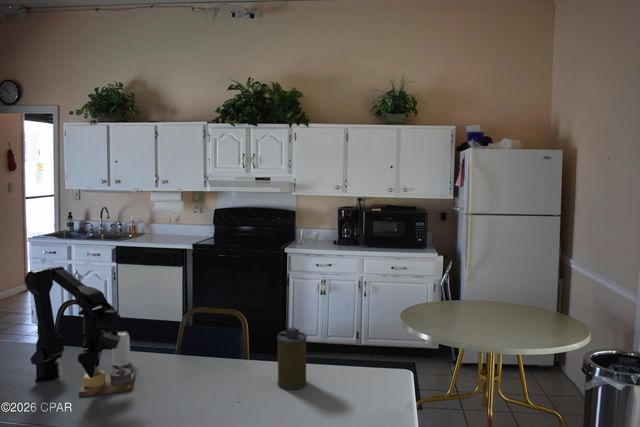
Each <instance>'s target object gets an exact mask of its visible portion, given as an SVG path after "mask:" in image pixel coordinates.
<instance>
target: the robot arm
mask: <svg viewBox="0 0 640 427" xmlns="http://www.w3.org/2000/svg"><path fill="white" fill-rule="evenodd" d="M24 282H25V285H26V289H27V290H28V292H29V293H31V295H32V296H33V298H34V299H33V300H34V307H35V314H36V319H37V324H38V327H37V328H38V332H39V336H38V338H37V341H36V343H35V352H34V353H33V355H31V357H30V362H31V365H34V366H35V373H36V378H35V379H34V382H42V381H43V382H45V381H46V382H47V381H54V380H56V378H57V377H58V376H59V375H60V373H61V371H60V362H59V361H58V359H60V358H62V356H63V353H64V350H65V346H66V345H65V342H64V341H65V340H64V336H63V335H59V334H58V333H57V330H56V324H55V318H54V313H53V307H52V301H51V290H52V288H53V285H54V282H55V283H56V284H57V285H58V286H60V287H61V288H63V289H64V290H65V291H67V292H68V293H69V294H70V295H72V296H73V297H74V300H75V304H77V305H78V306H79V308H80V309H81V310H80V311H79V312H78V315H79V316H82V317H83V320H82V322H83V332H82V338H83V345H82V350H81V351H80V352H79V354H78V355H77V363H79V364H80V365H81V367H83V369H84V371H85V373H87V374H88V376H89V377H90V378H93V376H94V370H95V367H97V368H98V367H99V366H100V361H101V357H102V352H103V351H104V349H105V348H106V347H108V348H111V349H112V348H113V349H116V348H117V346H118V343H119V340H120V335H119V336H118V332H119V330H120V329H121V326H122V325H123V319H122V316H120V314H118V311H117V310H112V307H111V305H110V303H109V302H108V300H107V298H106V297H105V294H104V293H103V291H101V290H100V289H98V288H95V287H93V286H87V285H85V284H84V283H83V282H81V281H80V280H79V279H77V278H76V277H75V276H73V275H72V274H71V273H69V271H67V270H66V269H65V268H64V266H63V265H62V266H61V265H56V266H52V267H48V268H41V269H36V270H30V271H28V272H27V273H26V275H24ZM105 331H107V332H105Z"/></svg>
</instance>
